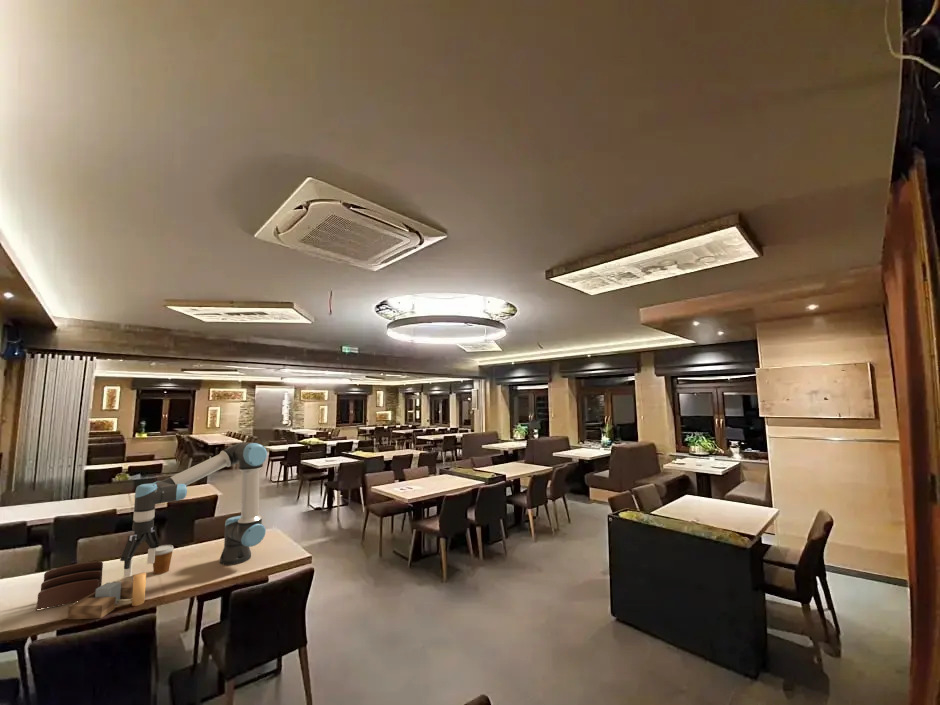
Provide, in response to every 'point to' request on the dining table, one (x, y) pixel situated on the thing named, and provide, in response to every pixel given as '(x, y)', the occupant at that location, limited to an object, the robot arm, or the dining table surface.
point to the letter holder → (69, 584)
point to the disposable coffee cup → (162, 559)
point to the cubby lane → (98, 603)
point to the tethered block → (115, 590)
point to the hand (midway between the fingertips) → (139, 569)
